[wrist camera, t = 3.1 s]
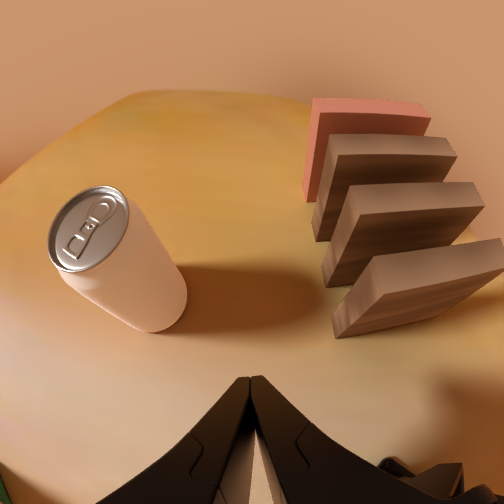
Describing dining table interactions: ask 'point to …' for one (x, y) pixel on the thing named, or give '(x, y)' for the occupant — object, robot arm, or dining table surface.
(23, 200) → the dining table surface
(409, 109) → the tile
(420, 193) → the tile
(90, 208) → the can
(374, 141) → the tile
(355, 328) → the tile
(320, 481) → the robot arm
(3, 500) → the coffee box
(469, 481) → the dining table surface
